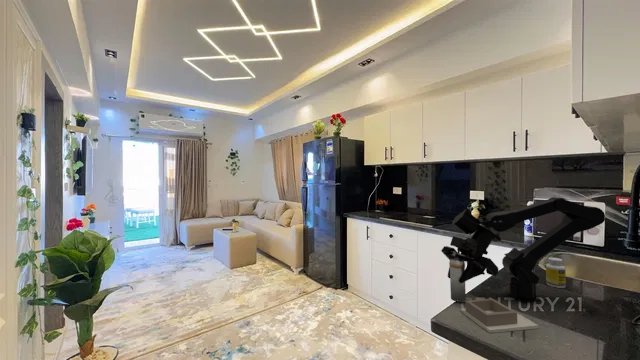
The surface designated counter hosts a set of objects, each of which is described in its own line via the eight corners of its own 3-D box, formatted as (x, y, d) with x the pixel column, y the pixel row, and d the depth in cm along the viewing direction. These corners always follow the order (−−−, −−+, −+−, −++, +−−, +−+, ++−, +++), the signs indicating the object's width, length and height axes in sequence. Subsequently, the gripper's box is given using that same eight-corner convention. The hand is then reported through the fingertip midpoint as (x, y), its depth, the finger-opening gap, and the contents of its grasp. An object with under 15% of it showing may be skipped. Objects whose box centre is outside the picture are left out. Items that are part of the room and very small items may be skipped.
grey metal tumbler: (460, 295, 91) (459, 257, 91) (469, 301, 86) (467, 261, 86) (447, 296, 90) (446, 258, 90) (455, 302, 86) (454, 262, 86)
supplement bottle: (561, 289, 94) (560, 261, 94) (543, 284, 99) (542, 258, 99) (569, 286, 96) (568, 259, 97) (551, 281, 101) (550, 256, 101)
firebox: (502, 307, 82) (502, 295, 82) (538, 328, 70) (537, 313, 70) (460, 311, 81) (459, 298, 81) (489, 333, 69) (489, 318, 69)
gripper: (444, 224, 98) (420, 257, 95) (490, 232, 81) (462, 273, 77) (461, 243, 101) (439, 276, 97) (510, 255, 83) (484, 296, 79)
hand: (454, 279), depth 88 cm, fingers closed on grey metal tumbler, 4 cm apart
